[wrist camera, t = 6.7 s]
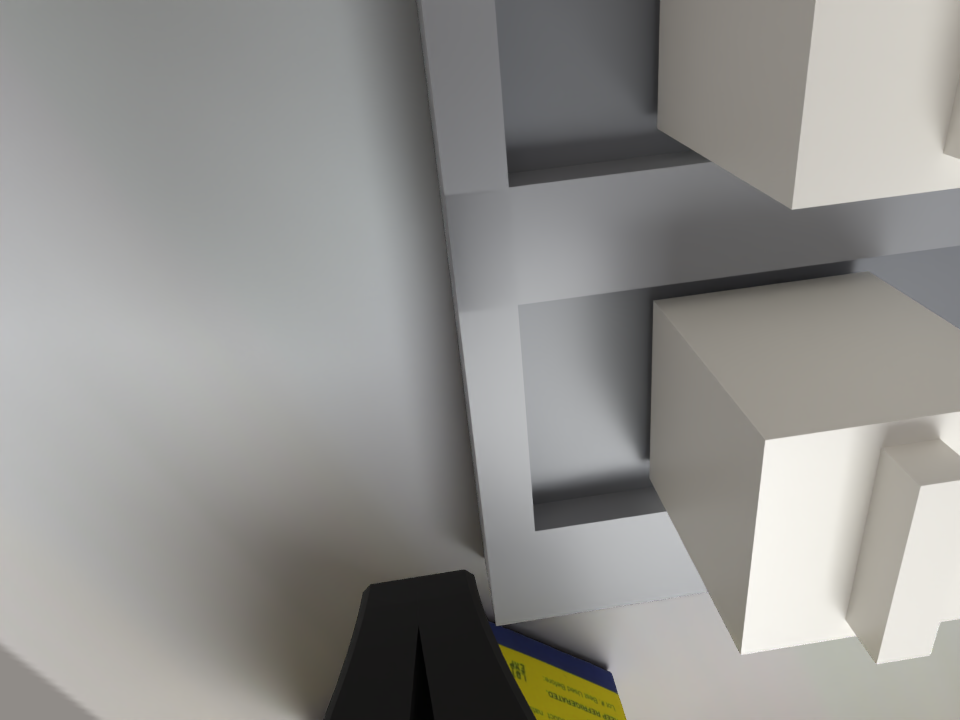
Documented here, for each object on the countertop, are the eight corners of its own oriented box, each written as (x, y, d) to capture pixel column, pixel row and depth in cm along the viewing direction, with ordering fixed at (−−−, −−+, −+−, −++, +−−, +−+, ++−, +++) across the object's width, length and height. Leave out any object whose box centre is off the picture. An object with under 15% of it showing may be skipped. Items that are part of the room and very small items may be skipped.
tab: (868, 271, 13) (1119, 430, 9) (836, 449, 15) (1029, 655, 11) (653, 300, 13) (796, 479, 9) (649, 478, 15) (764, 701, 10)
